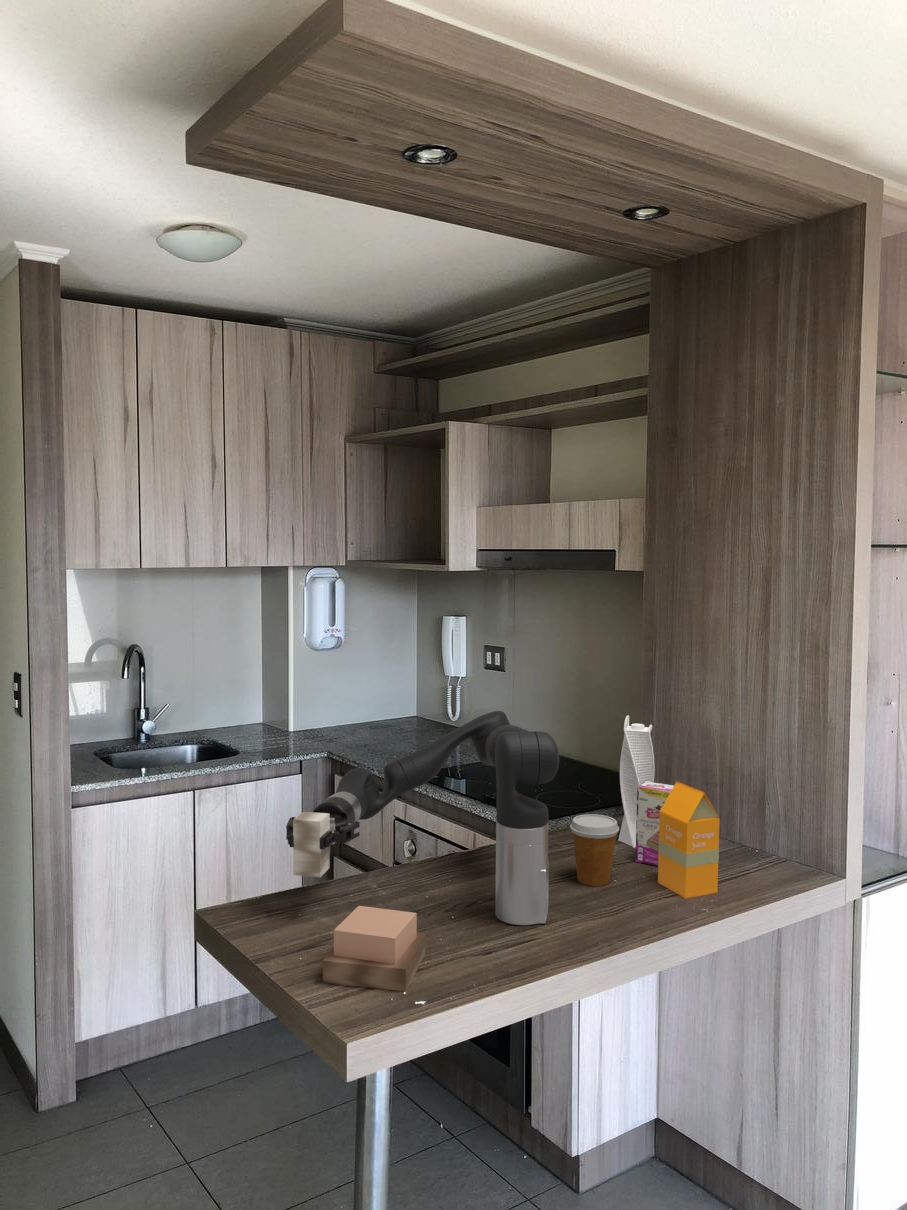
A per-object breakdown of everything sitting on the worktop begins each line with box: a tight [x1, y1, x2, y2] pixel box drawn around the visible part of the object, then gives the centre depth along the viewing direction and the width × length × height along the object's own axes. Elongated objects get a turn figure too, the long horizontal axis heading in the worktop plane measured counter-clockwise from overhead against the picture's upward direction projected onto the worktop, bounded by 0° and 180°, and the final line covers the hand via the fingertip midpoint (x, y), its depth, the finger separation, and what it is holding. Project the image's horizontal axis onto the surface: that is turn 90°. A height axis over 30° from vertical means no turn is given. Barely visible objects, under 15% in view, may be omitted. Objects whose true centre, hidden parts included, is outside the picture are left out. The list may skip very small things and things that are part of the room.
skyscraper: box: [617, 714, 656, 849], centre depth 209 cm, size 8×8×28 cm
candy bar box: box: [634, 781, 674, 867], centre depth 195 cm, size 11×5×16 cm, turn 58°
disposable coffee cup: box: [569, 813, 620, 887], centre depth 186 cm, size 10×10×12 cm
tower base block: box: [322, 931, 427, 992], centre depth 149 cm, size 13×13×4 cm
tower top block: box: [333, 905, 418, 964], centre depth 149 cm, size 10×10×4 cm
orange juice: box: [657, 780, 721, 899], centre depth 183 cm, size 8×9×20 cm
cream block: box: [292, 811, 331, 878], centre depth 169 cm, size 5×5×10 cm
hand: (306, 842), depth 166 cm, fingers closed on cream block, 5 cm apart
